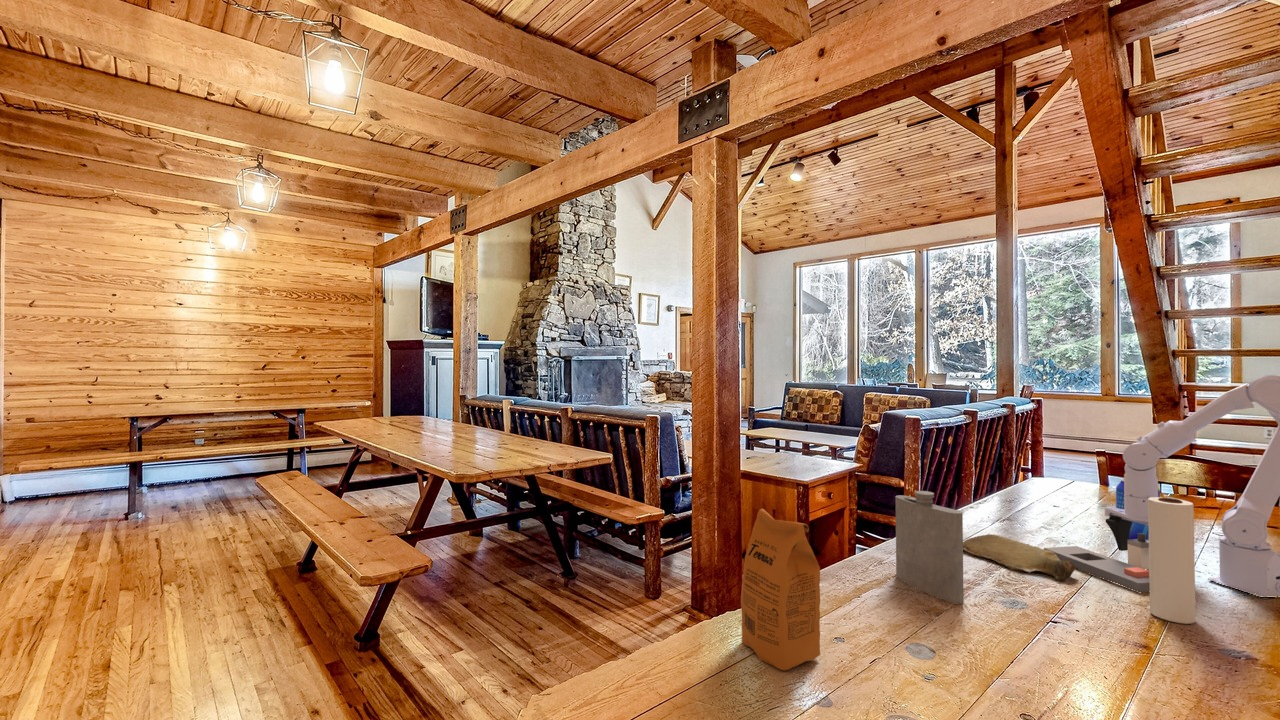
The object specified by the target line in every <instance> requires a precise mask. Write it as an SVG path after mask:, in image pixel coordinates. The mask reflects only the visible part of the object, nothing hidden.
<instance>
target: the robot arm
mask: <svg viewBox="0 0 1280 720" xmlns="http://www.w3.org/2000/svg"><path fill="white" fill-rule="evenodd" d="M1253 403H1256V404H1258V405H1259V406H1260V407H1262V408H1263V409H1265V410H1266V411H1267V412H1268V413H1269V414H1270V416H1271V417H1272V418H1273V420H1275V422H1276V423H1277V424H1278V425H1277V428H1276V430H1274V433H1273V435H1272V437H1271V439H1270V441H1269V443H1268V444H1267V446H1266V448H1265V450H1264V452H1263V454H1262V456H1261V458H1260V460H1259V461H1258V464H1257V466H1256V468H1255V470H1254V471H1253V474H1252V475H1251V477H1250V479H1249V481H1248V483H1247V485H1246V487H1245V489H1244V491H1243V493H1242V494H1241V496H1240V497H1239V498H1238V500H1237V501H1236V504H1235V505H1234V506H1233V507H1231V508H1230V509H1227V510H1226V511H1225V512H1223V515H1222V517H1221V522H1222V524H1221V532H1222V533H1223V535H1222V536H1219V537H1218V543H1219V545H1218V546H1219V547H1218V549H1219V554H1218V555H1219V577H1208V578H1207V581H1208V580H1210V581H1209V582H1211V581H1214V582H1218V583H1221V584H1224V585H1227V586H1230V587H1233V588H1237V589H1240V590H1242V591H1245V592H1249V593H1251V594H1255V593H1256V594H1255V595H1258V596H1263V597H1267V596H1280V552H1278V551H1275V550H1274V549H1272V547H1271V546H1272V545H1271V544H1270V543H1269V542H1267V539H1268V537H1269V533H1268V532H1269V531H1268V529H1267V528H1268V526H1267V525H1268V523H1269V520H1270V518H1271V516H1272V513H1273V511H1274V507H1275V505H1276V503H1277V502H1278V499H1279V498H1280V375H1276V374H1275V375H1274V374H1265V375H1261V376H1260V375H1259V376H1258V377H1255V378H1254V379H1252V380H1251V382H1250V383H1247V382H1246V383H1244V384H1242V385H1239V386H1237V387H1234V388H1232V389H1231V390H1228V391H1226V392H1223V394H1221V395H1219V396H1218V397H1216V398H1215V399H1213V400H1212V401H1210V402H1209V403H1207V404H1206V405H1204V406H1203V407H1201V408H1200V409H1198V410H1197V411H1195V412H1194V413H1192V414H1190V415H1189V416H1187V417H1186V418H1185V419H1183V420H1168V421H1166V422H1164V421H1161V422H1159V423H1158V424H1156V426H1157V428H1155V429H1154V430H1152V431H1151V432H1149V433H1147V434H1146V435H1143V436H1142V435H1140V436H1138V437H1137V438H1136V440H1137V441H1138V442H1133V443H1131V444H1129V445H1128V446H1127V447H1126V448H1124V450H1123V452H1122V460H1123V461H1124V463H1125V465H1124V474H1123V478H1124V509H1118V508H1116V507H1113V506H1109V507H1108V506H1107V507H1104V516H1105V517H1108V518H1105V523H1106V524H1107V526H1108V527H1109V528H1110V530H1111V532H1112V535H1113V537H1114V540H1115V542H1116V545H1117V548H1118V551H1121V552H1126V551H1128V540H1129V533H1130V528H1131V525H1132V522H1136V523H1140V524H1144V525H1148V526H1149V522H1148V498H1151V497H1158V490H1159V480H1158V479H1159V478H1158V476H1157V463H1158V462H1159V460H1160V459H1167V458H1169V457H1170V456H1172V455H1174V454H1175V453H1177V452H1179V451H1180V450H1182V449H1183V448H1186V447H1187V446H1188V445H1189V446H1190V444H1192V443H1194V442H1195V439H1196V433H1197V432H1199V431H1200V430H1201V429H1203V428H1205V427H1207V426H1208V425H1210V424H1212V423H1214V422H1215V421H1217V420H1219V419H1222V418H1223V417H1224V416H1227V415H1228V414H1230V413H1232V412H1234V411H1238V410H1247V409H1254V408H1255V406H1254V404H1253ZM1214 582H1213V583H1214ZM1251 594H1250V595H1251Z"/></svg>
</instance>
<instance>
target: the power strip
mask: <svg viewBox="0 0 1280 720" xmlns="http://www.w3.org/2000/svg"><path fill="white" fill-rule="evenodd" d="M1043 550H1048V551H1051V552H1054V553H1055V554H1056V556H1057V557H1058V559H1059V560H1061V561H1068V560H1069V561H1071V562H1072V564H1073V565H1074V566H1075V567H1076V568H1077V569H1076V570H1078V569H1080V570H1082V571H1081V572H1083V571H1084V572H1083V573H1086V572H1087V573H1086V574H1088V573H1090V574H1089V575H1091V574H1093V575H1095V576H1094V577H1096V576H1098V577H1101V578H1104V579H1106V580H1109V581H1112V582H1115V583H1118V584H1120V585H1123V586H1125V587H1127V588H1130V589H1133V590H1135V591H1138V592H1147V593H1150V592H1149V591H1150V578H1149V570H1145V569H1142V568H1139V567H1136V566H1133V565H1130V564H1128V562H1125V561H1121V560H1118V559H1116V558H1112V557H1109V556H1108V555H1107V556H1106V555H1103V554H1100V553H1097V552H1095V551H1091V550H1089V549H1086V548H1084V547H1080V546H1077V545H1073V546H1072V545H1071V546H1057V547H1055V546H1054V547H1044V548H1043ZM1080 570H1079V571H1080ZM1093 575H1092V576H1093ZM1098 577H1097V578H1098ZM1101 578H1100V579H1101ZM1104 579H1103V580H1104ZM1106 580H1105V581H1106ZM1109 581H1108V582H1109ZM1127 588H1126V589H1127ZM1135 591H1134V592H1135Z"/></svg>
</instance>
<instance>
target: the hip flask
mask: <svg viewBox="0 0 1280 720" xmlns="http://www.w3.org/2000/svg"><path fill="white" fill-rule="evenodd" d="M934 498H935V492H932V491H928V490H915V491H914V496H909V495H903V494H902V495H900V494H899V495H896V496H895V567H896V568H895V572H896V574H895V575H896V578H897V579H898V580H900V581H902V582H904V581H905V582H906V584H907V583H908V584H907V585H909V584H910V585H909V586H911V585H912V586H911V587H913V586H914V587H913V588H915V587H916V588H915V589H917V588H918V589H917V590H919V589H920V590H919V591H921V590H922V591H921V592H923V591H924V593H925V592H926V594H927V593H928V594H927V595H930V596H932V595H933V597H934V596H935V597H934V598H937V599H939V598H940V600H942V599H943V600H942V601H944V602H947V603H949V604H955V605H962V604H964V599H965V598H964V596H965V595H964V594H965V593H964V550H963V542H964V531H963V530H964V525H963V520H964V519H963V511H961V510H958V509H955V508H954V509H953V508H949V507H945V506H941V505H937V504H934ZM905 582H904V583H905Z"/></svg>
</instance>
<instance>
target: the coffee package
mask: <svg viewBox="0 0 1280 720" xmlns="http://www.w3.org/2000/svg"><path fill="white" fill-rule="evenodd" d="M809 530H810V529H809V525H807V524H806V523H802V522H798V521H787V520H782V519H775V518H774V517H772V515H770V513H769V512H767V511H766V509H764V508H760V509H759V510H758V512H757V514H756V519H755V521H754V524H753V527H752V531H751V535H750V537H749V538H750V539H749V541H748V544H747V549H746V552H745V555H744V556H745V557H744V563H743V572H742V581H741V582H742V583H741V584H742V585H741V590H740V591H741V592H740V593H741V595H740V609H741V644H742V645H744V646H746V647H748V648H751V649H752V650H753V651H754V653H755V655H756V656H757V658H758V659H759V660H760V661H762V662H764V663H765V664H767V665H768V664H769V665H771V666H772V667H776V668H777V669H778V670H780V671H789V670H791V669H792V668H795V667H797V666H799V665H801V664H803V663H805V662H810V661H814V660H816V658H818V657H820V656H821V644H820V643H821V642H820V639H821V632H820V631H821V628H820V627H821V625H820V622H821V621H820V620H821V612H820V611H821V610H820V605H821V587H820V586H821V584H820V583H821V567H820V565H819V562H818V560H817V557H816V556H815V554H814V550H813V549H812V546H811V545H810V543H809V541H808V539H807V536H806V533H809Z"/></svg>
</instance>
